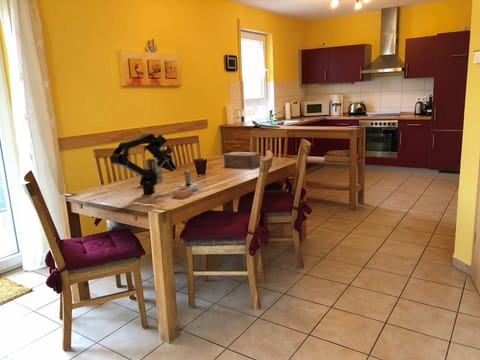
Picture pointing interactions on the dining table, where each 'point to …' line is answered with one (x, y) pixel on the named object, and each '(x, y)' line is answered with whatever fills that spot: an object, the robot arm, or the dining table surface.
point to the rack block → (182, 192)
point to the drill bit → (187, 178)
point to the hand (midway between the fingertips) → (174, 170)
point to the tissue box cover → (242, 159)
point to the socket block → (193, 186)
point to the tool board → (187, 196)
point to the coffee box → (154, 168)
